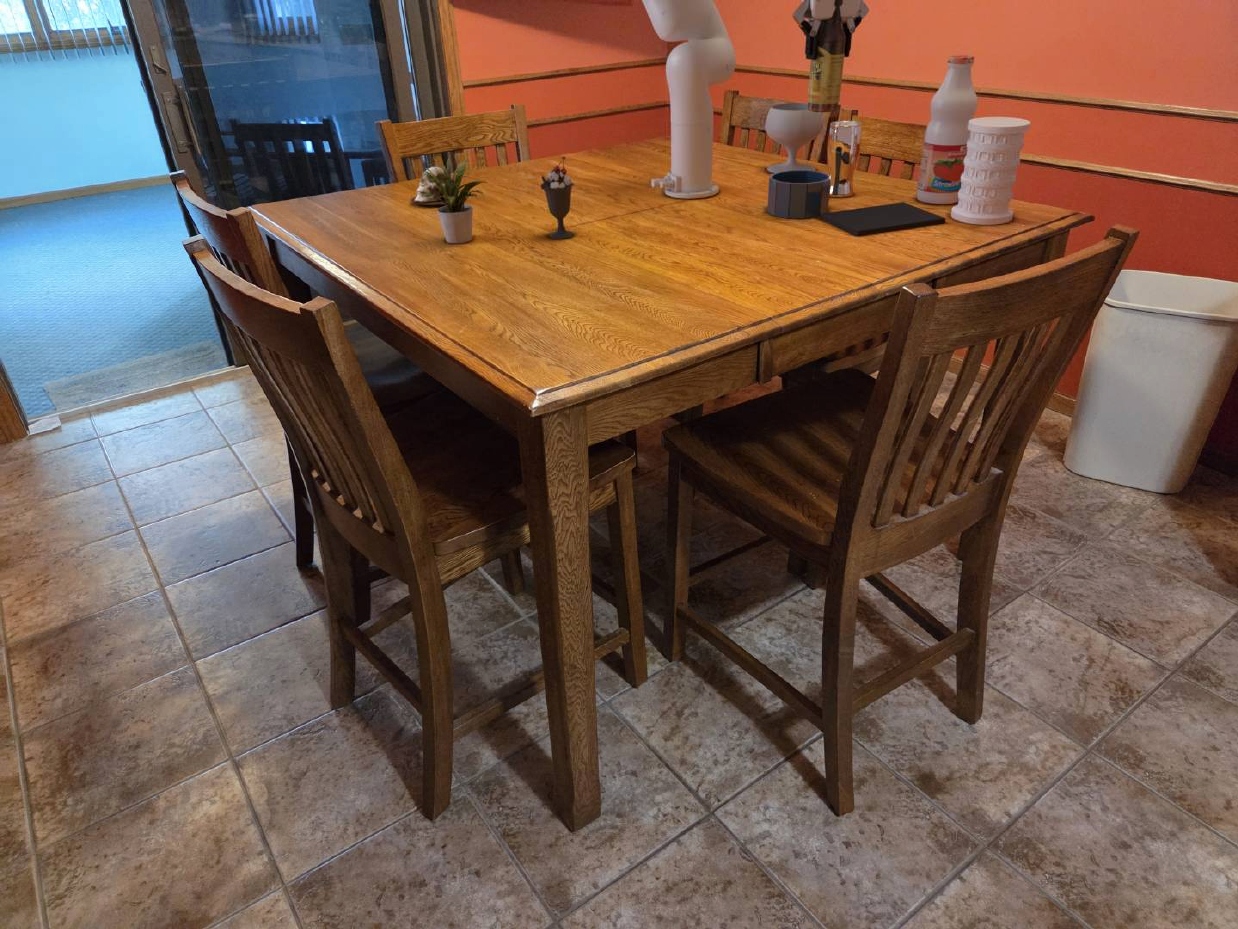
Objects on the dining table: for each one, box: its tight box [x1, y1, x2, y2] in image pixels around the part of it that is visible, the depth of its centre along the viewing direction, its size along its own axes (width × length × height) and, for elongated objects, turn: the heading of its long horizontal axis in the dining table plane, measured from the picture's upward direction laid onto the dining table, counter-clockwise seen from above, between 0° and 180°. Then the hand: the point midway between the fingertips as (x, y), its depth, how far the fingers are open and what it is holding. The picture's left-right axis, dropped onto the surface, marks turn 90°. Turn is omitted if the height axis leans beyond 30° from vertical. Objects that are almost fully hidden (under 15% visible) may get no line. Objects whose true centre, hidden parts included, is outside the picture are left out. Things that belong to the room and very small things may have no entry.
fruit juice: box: [915, 54, 979, 205], centre depth 169 cm, size 9×9×28 cm
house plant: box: [415, 156, 485, 244], centre depth 161 cm, size 14×14×16 cm
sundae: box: [540, 156, 575, 240], centre depth 162 cm, size 7×7×15 cm
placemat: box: [819, 201, 946, 237], centre depth 165 cm, size 20×14×1 cm
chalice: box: [764, 102, 824, 174], centre depth 202 cm, size 14×14×15 cm
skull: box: [410, 166, 459, 206], centre depth 193 cm, size 12×10×10 cm
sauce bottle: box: [807, 0, 846, 113], centre depth 156 cm, size 6×6×20 cm
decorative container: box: [950, 116, 1031, 226], centre depth 160 cm, size 12×12×18 cm
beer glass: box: [826, 120, 862, 198], centre depth 180 cm, size 7×7×15 cm
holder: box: [766, 170, 831, 220], centre depth 172 cm, size 13×13×7 cm
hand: (827, 56), depth 156 cm, fingers closed on sauce bottle, 6 cm apart
